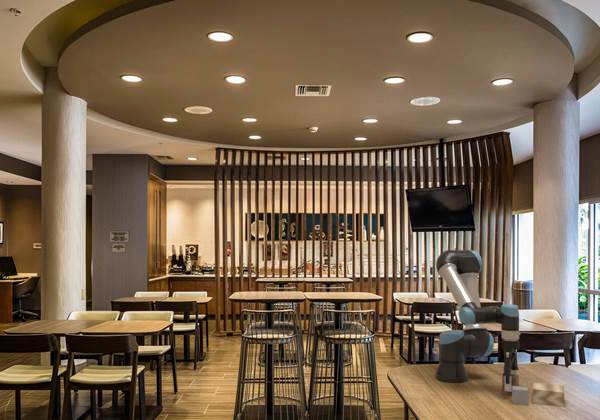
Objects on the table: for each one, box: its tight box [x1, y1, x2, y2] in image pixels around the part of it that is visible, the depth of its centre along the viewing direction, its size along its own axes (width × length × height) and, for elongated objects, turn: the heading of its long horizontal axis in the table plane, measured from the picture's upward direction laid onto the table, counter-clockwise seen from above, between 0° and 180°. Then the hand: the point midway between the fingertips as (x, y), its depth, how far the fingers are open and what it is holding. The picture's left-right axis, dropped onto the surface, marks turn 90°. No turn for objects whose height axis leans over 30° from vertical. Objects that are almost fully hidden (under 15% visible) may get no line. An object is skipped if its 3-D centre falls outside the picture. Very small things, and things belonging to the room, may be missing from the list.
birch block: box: [532, 382, 565, 408], centre depth 243 cm, size 12×12×6 cm
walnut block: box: [501, 374, 520, 397], centre depth 254 cm, size 6×6×8 cm
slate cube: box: [511, 385, 530, 406], centre depth 240 cm, size 6×6×6 cm
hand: (511, 388), depth 253 cm, fingers open, 13 cm apart
